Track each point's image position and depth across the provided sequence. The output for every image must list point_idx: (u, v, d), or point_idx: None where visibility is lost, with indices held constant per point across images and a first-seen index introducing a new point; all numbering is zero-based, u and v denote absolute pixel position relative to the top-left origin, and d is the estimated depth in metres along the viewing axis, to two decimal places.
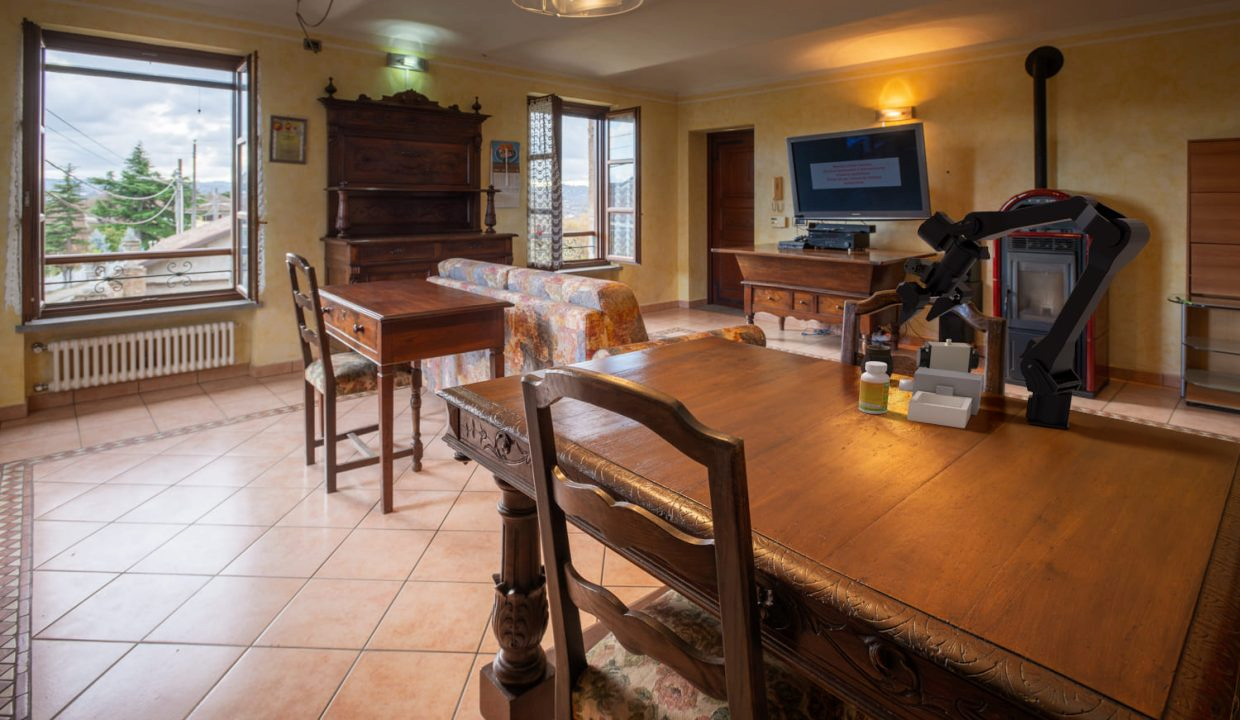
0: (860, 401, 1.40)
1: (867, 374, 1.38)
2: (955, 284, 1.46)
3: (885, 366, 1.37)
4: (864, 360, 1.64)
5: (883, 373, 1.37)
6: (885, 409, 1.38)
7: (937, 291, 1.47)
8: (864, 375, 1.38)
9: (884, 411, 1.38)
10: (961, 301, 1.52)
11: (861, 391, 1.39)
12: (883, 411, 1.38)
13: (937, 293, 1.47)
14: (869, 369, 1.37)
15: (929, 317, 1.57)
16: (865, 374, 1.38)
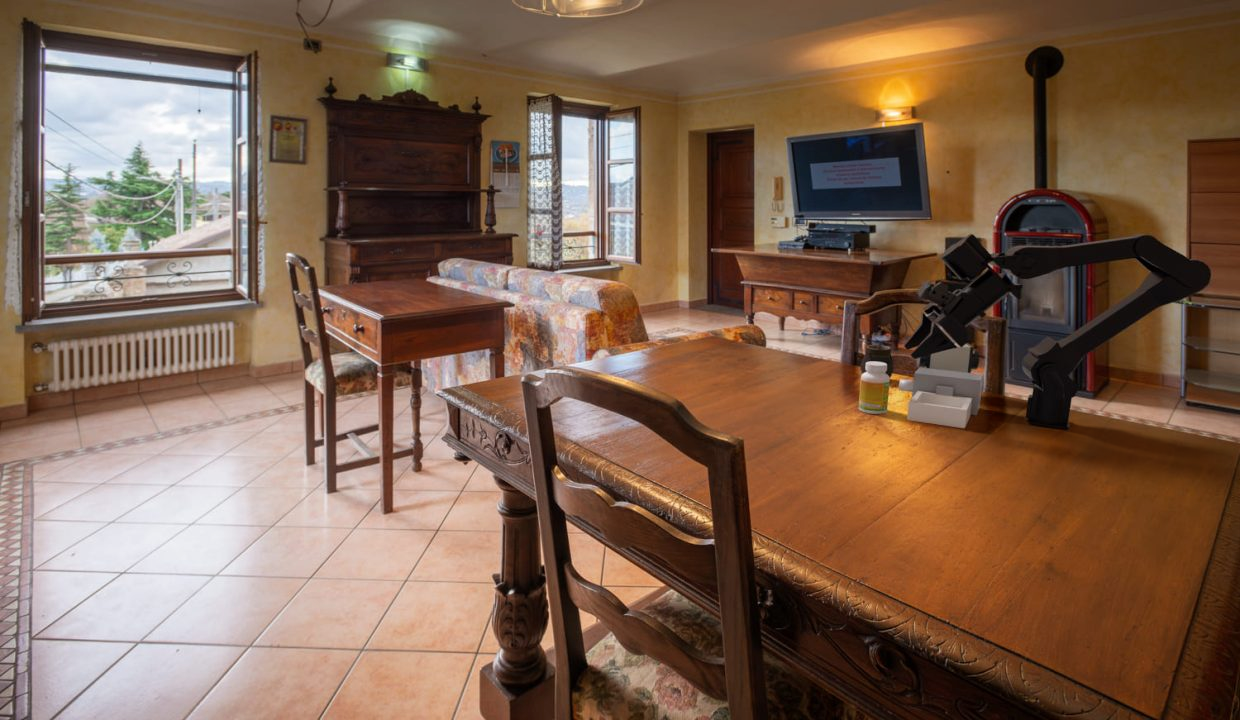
0: (860, 401, 1.40)
1: (867, 374, 1.38)
2: None
3: (885, 366, 1.37)
4: (864, 360, 1.64)
5: (883, 373, 1.37)
6: (885, 409, 1.38)
7: None
8: (864, 375, 1.38)
9: (884, 411, 1.38)
10: None
11: (861, 391, 1.39)
12: (883, 411, 1.38)
13: None
14: (869, 369, 1.37)
15: (910, 345, 1.40)
16: (865, 374, 1.38)
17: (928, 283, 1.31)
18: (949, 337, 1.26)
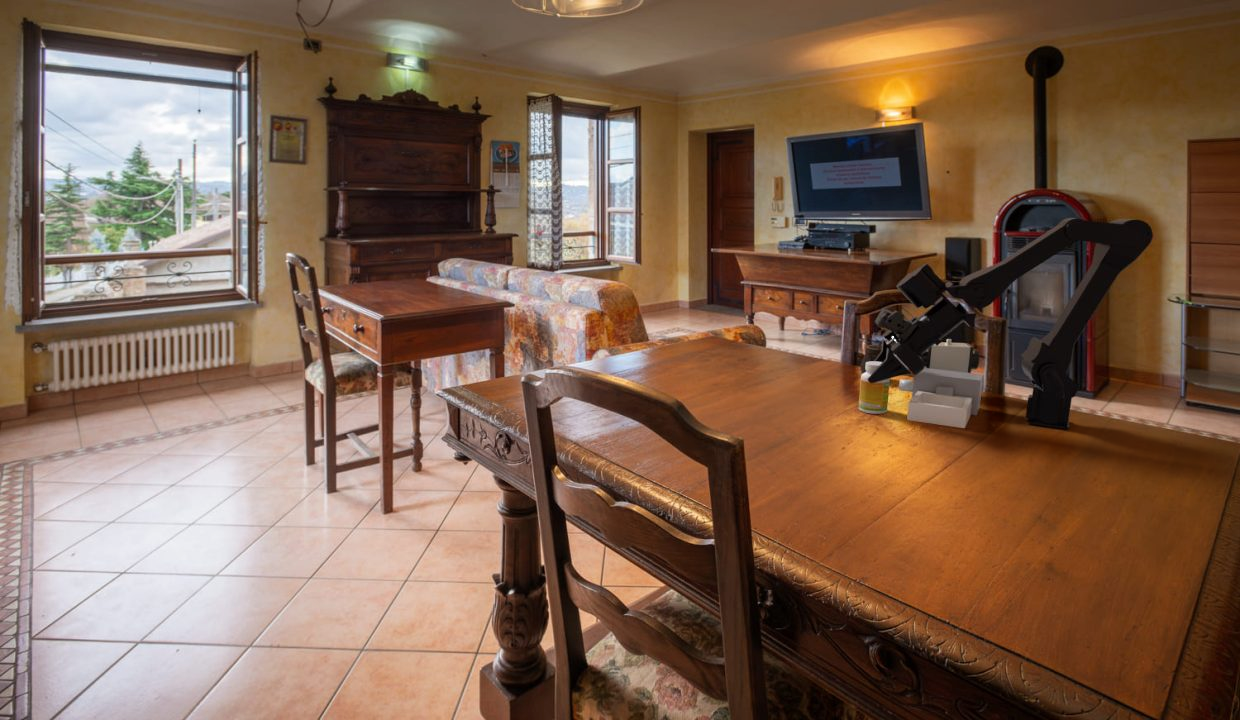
0: (860, 401, 1.40)
1: (867, 374, 1.38)
2: None
3: None
4: (864, 360, 1.64)
5: None
6: (885, 409, 1.38)
7: (917, 353, 1.34)
8: (864, 375, 1.38)
9: (884, 411, 1.38)
10: None
11: (861, 391, 1.39)
12: (883, 411, 1.38)
13: None
14: (869, 369, 1.37)
15: None
16: (865, 374, 1.38)
17: (885, 311, 1.34)
18: (903, 363, 1.31)
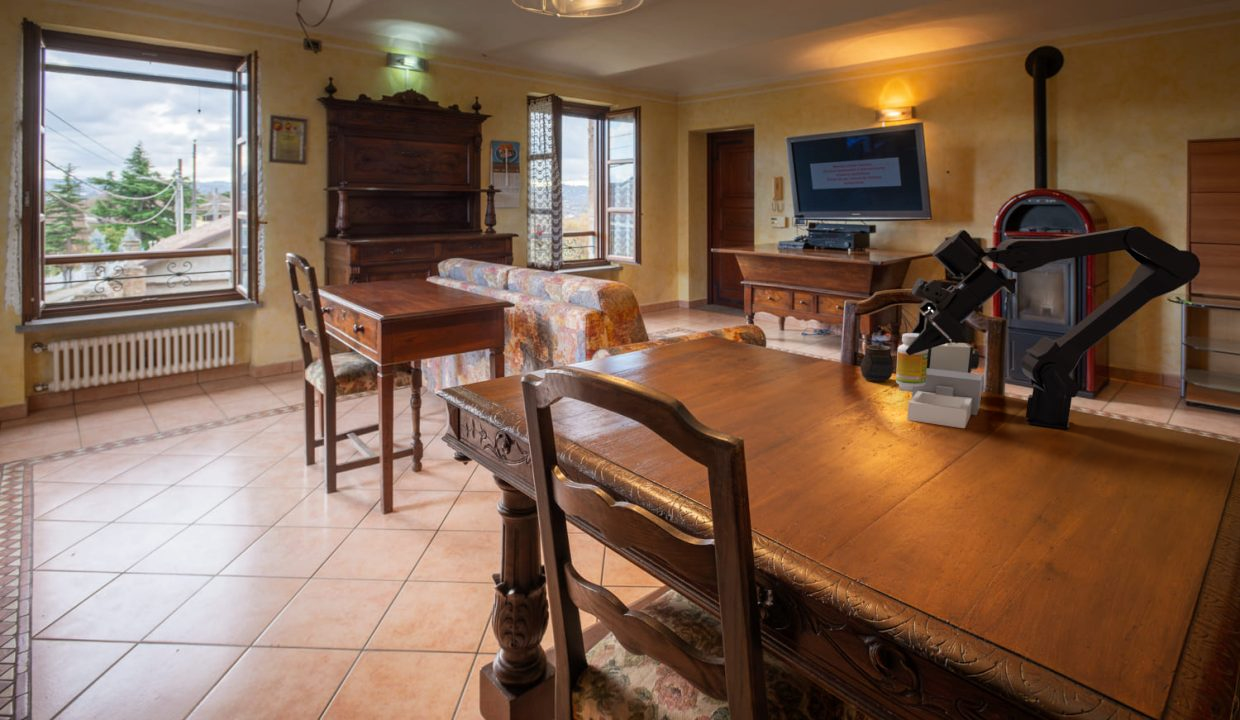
0: (897, 374, 1.36)
1: (904, 346, 1.34)
2: None
3: None
4: (864, 360, 1.64)
5: None
6: (924, 381, 1.35)
7: (956, 322, 1.30)
8: (901, 347, 1.35)
9: (923, 383, 1.34)
10: None
11: (898, 364, 1.36)
12: (922, 383, 1.34)
13: None
14: (906, 340, 1.34)
15: None
16: (902, 346, 1.35)
17: (921, 280, 1.30)
18: (942, 332, 1.27)
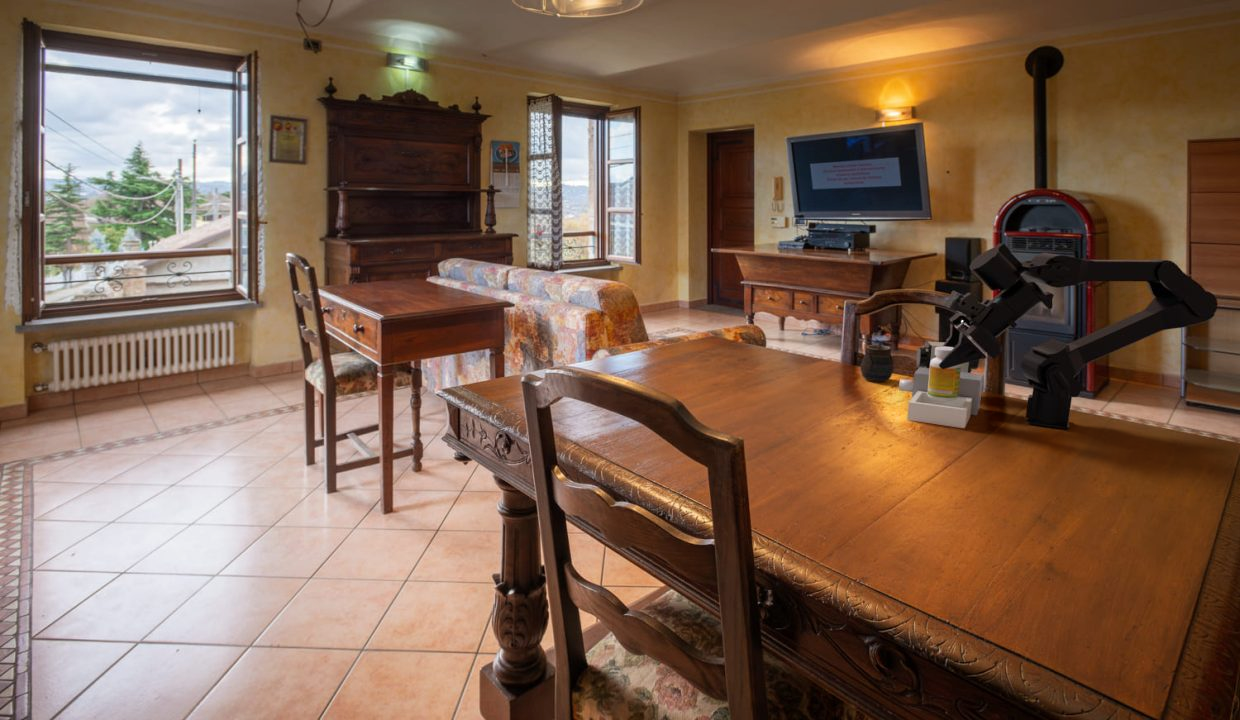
0: (929, 388, 1.34)
1: (937, 360, 1.33)
2: None
3: None
4: (864, 360, 1.64)
5: None
6: (956, 396, 1.33)
7: None
8: (934, 361, 1.33)
9: (955, 398, 1.33)
10: None
11: (931, 377, 1.34)
12: (954, 398, 1.32)
13: None
14: (940, 354, 1.32)
15: None
16: (935, 360, 1.33)
17: (957, 294, 1.29)
18: (978, 347, 1.26)
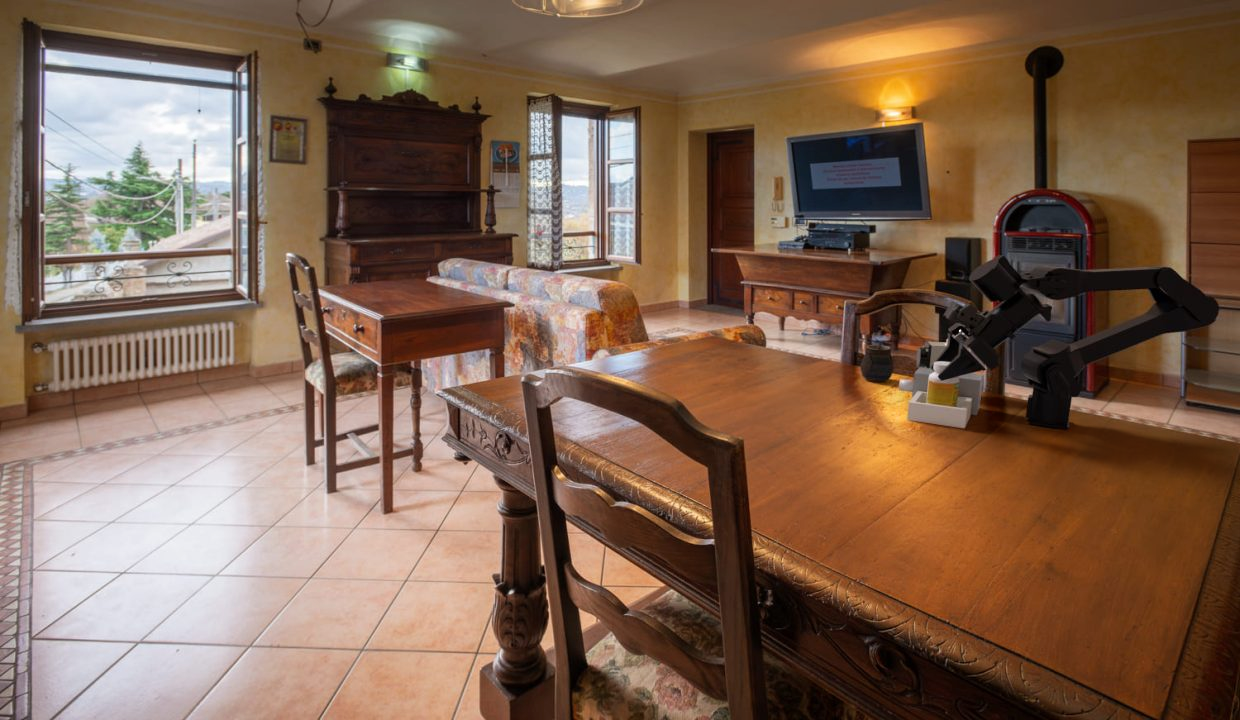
0: (928, 402, 1.35)
1: (936, 374, 1.33)
2: None
3: None
4: (864, 360, 1.64)
5: None
6: None
7: None
8: (932, 375, 1.34)
9: None
10: None
11: (929, 392, 1.34)
12: None
13: None
14: (938, 369, 1.33)
15: None
16: (933, 374, 1.34)
17: (956, 305, 1.29)
18: (978, 359, 1.25)
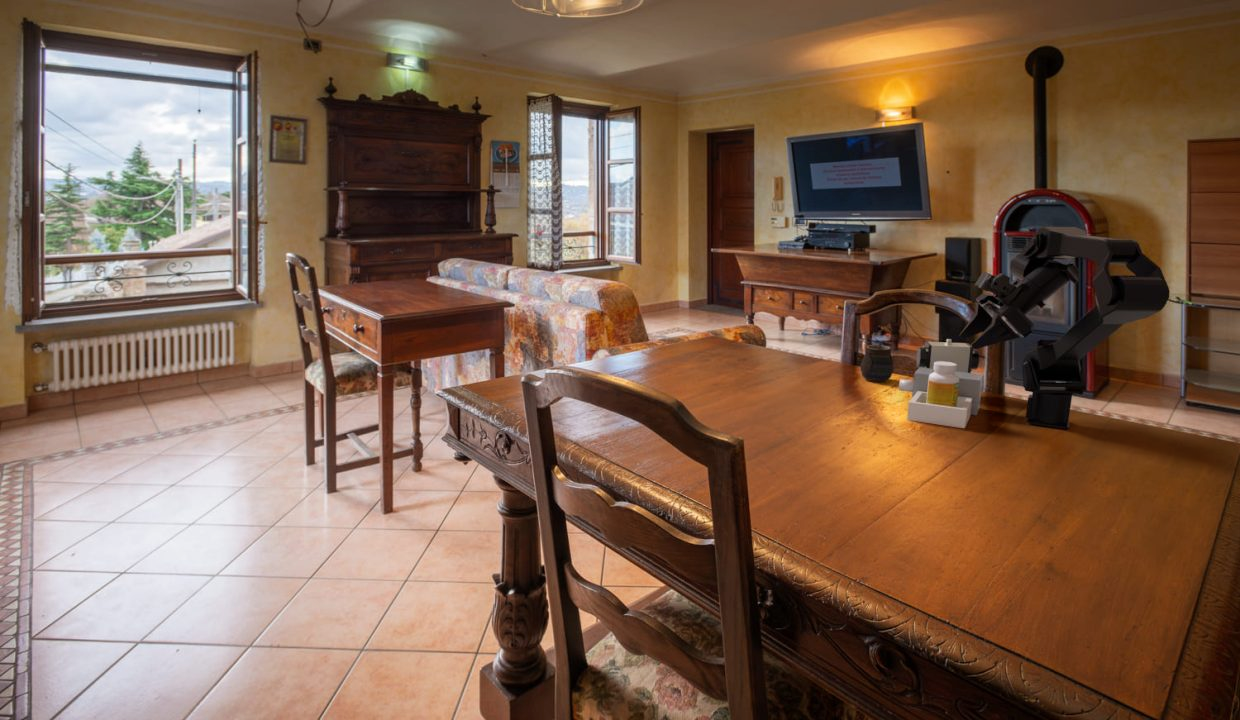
0: (928, 402, 1.35)
1: (936, 374, 1.33)
2: None
3: (955, 366, 1.32)
4: (864, 360, 1.64)
5: (953, 373, 1.32)
6: None
7: None
8: (932, 375, 1.34)
9: None
10: None
11: (929, 392, 1.34)
12: None
13: None
14: (938, 369, 1.33)
15: (965, 334, 1.43)
16: (933, 374, 1.34)
17: (988, 274, 1.33)
18: (1012, 328, 1.29)
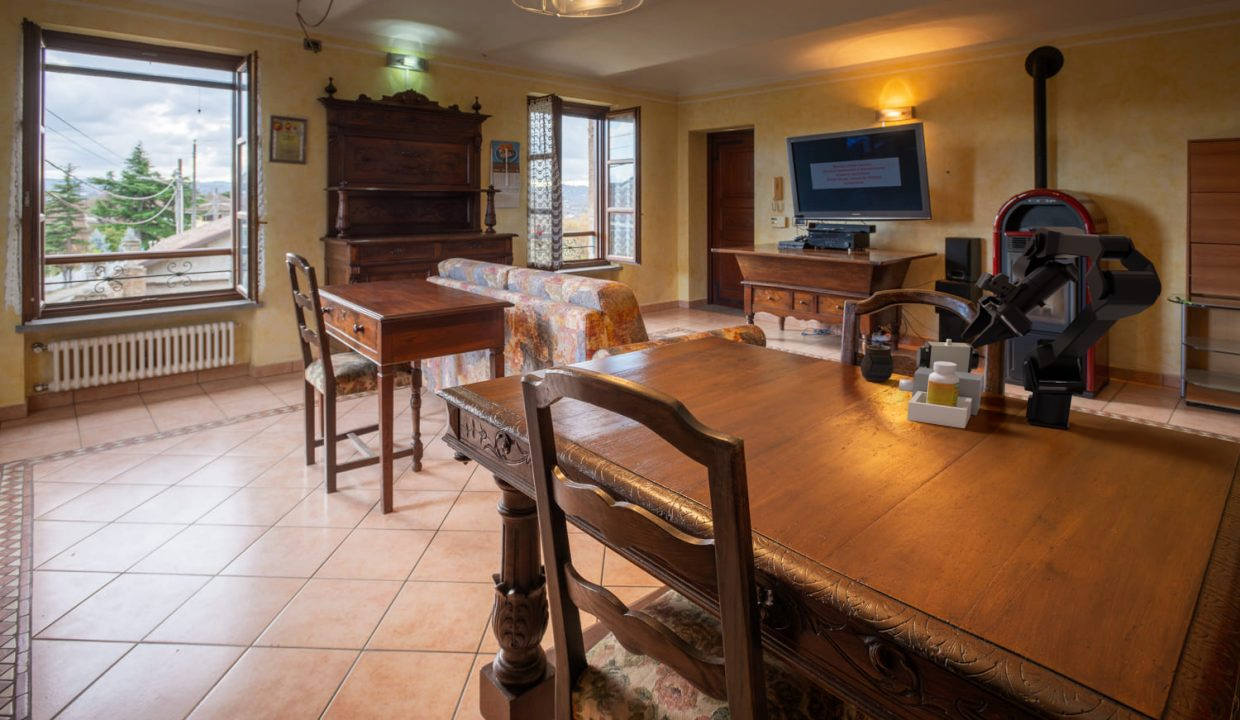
0: (928, 402, 1.35)
1: (936, 374, 1.33)
2: None
3: (955, 366, 1.32)
4: (864, 360, 1.64)
5: (953, 373, 1.32)
6: None
7: None
8: (932, 375, 1.34)
9: None
10: None
11: (929, 392, 1.34)
12: None
13: None
14: (938, 369, 1.33)
15: (967, 335, 1.43)
16: (933, 374, 1.34)
17: (988, 274, 1.34)
18: (1011, 326, 1.30)
